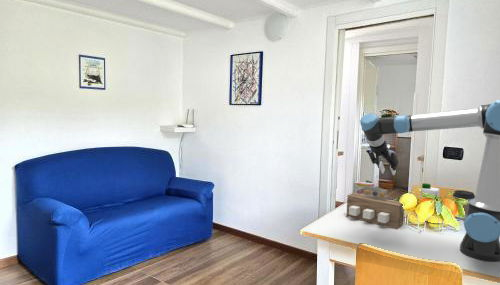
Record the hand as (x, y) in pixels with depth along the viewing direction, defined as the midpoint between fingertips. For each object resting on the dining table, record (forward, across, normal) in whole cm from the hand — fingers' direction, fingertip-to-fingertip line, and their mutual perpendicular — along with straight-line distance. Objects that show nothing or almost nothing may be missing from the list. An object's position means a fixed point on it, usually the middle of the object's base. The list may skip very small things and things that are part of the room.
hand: (388, 172), depth 177 cm
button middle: (+17, -8, -19) cm, 27 cm away
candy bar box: (+34, -22, -6) cm, 41 cm away
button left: (+17, -17, -19) cm, 30 cm away
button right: (+17, -1, -19) cm, 25 cm away
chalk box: (+46, -26, +6) cm, 53 cm away
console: (+23, -8, -16) cm, 30 cm away
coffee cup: (+54, +24, +14) cm, 61 cm away
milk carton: (+40, +12, 0) cm, 42 cm away
